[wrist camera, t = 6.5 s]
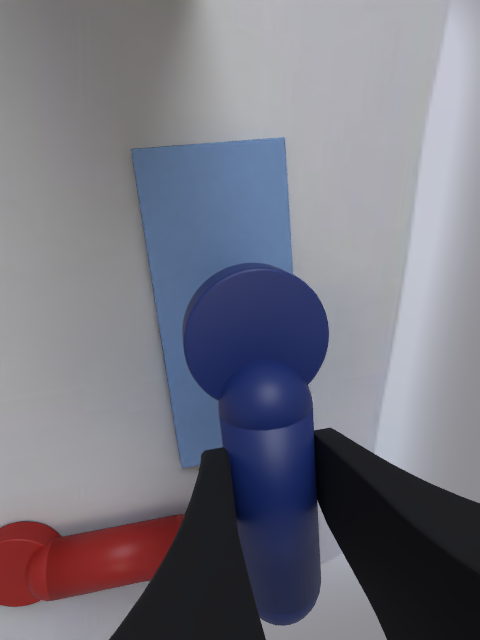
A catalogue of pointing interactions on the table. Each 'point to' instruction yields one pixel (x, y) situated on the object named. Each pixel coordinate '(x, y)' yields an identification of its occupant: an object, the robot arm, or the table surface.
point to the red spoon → (79, 559)
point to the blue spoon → (265, 421)
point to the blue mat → (207, 247)
